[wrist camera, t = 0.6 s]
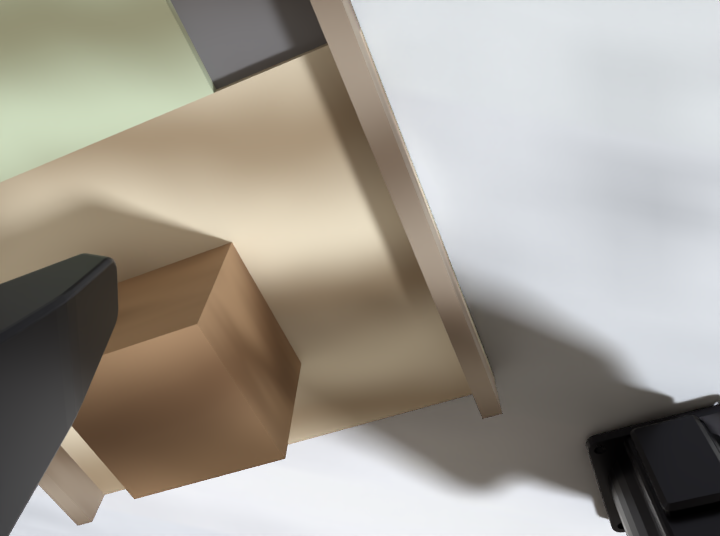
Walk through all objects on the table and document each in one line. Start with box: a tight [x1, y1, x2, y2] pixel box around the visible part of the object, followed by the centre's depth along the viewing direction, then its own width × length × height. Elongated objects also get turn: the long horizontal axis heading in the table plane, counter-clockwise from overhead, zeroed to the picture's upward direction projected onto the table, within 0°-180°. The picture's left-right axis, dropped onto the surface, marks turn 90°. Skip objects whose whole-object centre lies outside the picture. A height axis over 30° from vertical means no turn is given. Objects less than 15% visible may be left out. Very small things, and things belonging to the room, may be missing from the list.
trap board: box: [0, 0, 502, 525], centre depth 23 cm, size 22×20×2 cm
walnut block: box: [72, 242, 301, 499], centre depth 23 cm, size 6×6×5 cm
